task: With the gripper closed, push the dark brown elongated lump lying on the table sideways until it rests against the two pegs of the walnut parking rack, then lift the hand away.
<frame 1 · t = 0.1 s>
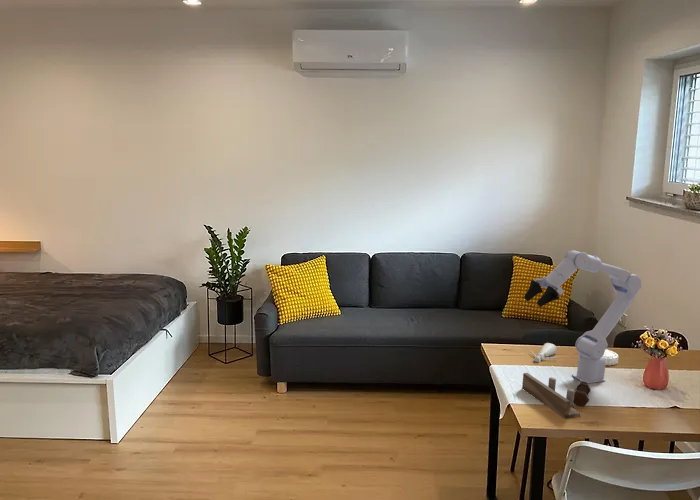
hand: (532, 302, 214), 32 cm above the table, tool tilted 50°, fingers open, 7 cm apart
peg rack: (551, 401, 207), on the table
dark brown elongated lump: (581, 398, 211), on the table
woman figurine: (543, 357, 250), on the table
mooncake: (602, 360, 249), on the table
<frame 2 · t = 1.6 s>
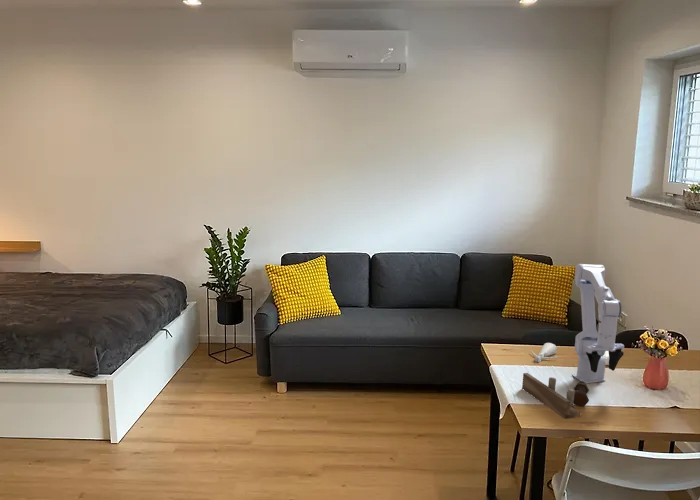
hand: (602, 370, 212), 10 cm above the table, tool pointing down, fingers open, 7 cm apart
nothing on the table moved.
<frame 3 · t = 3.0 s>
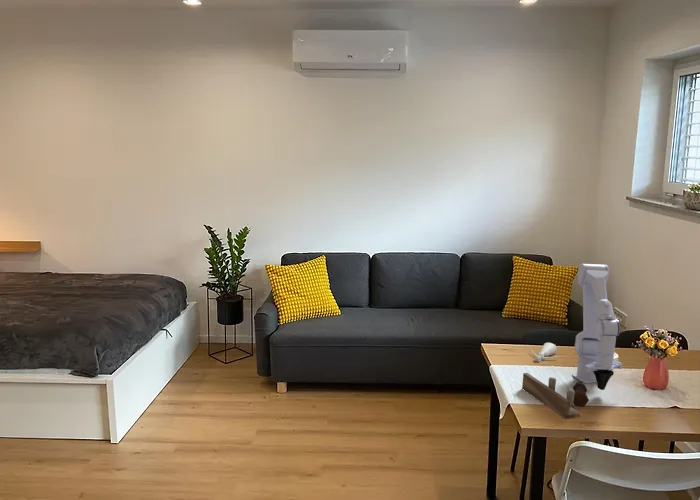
hand: (600, 388, 213), 3 cm above the table, tool pointing down, fingers closed
nothing on the table moved.
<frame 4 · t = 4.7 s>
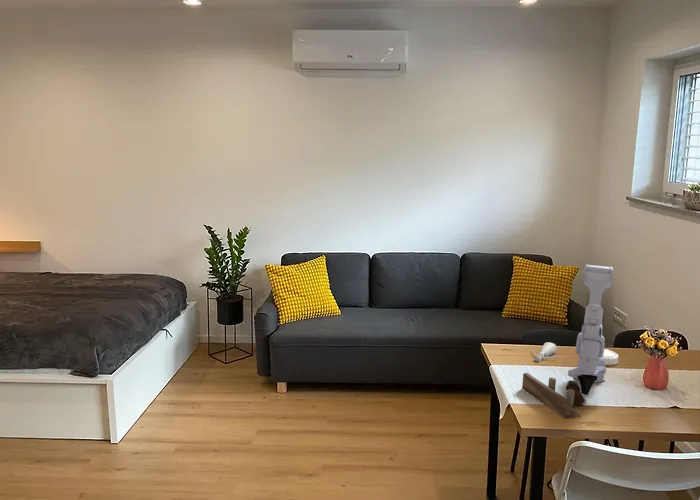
hand: (584, 393, 211), 1 cm above the table, tool pointing down, fingers closed
dark brown elongated lump: (573, 398, 212), on the table
everything else where it was.
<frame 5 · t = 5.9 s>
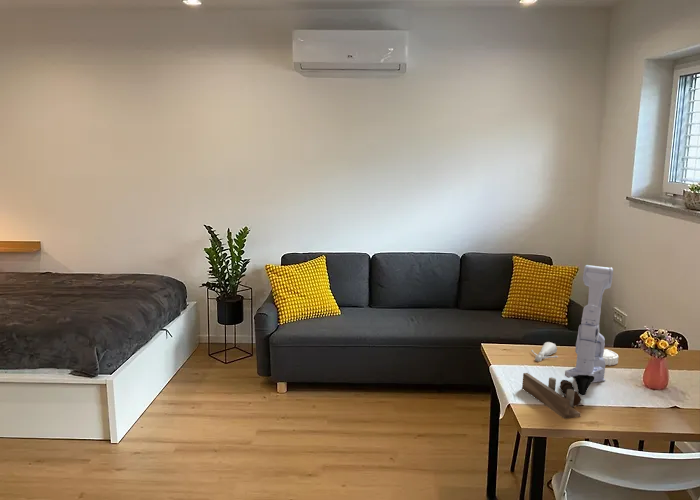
hand: (581, 394, 211), 1 cm above the table, tool pointing down, fingers closed
dark brown elongated lump: (568, 397, 212), on the table
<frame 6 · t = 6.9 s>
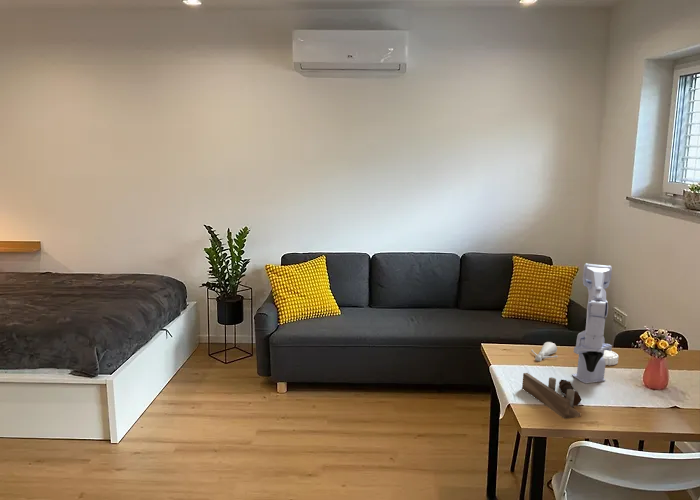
hand: (590, 370, 211), 9 cm above the table, tool pointing down, fingers closed
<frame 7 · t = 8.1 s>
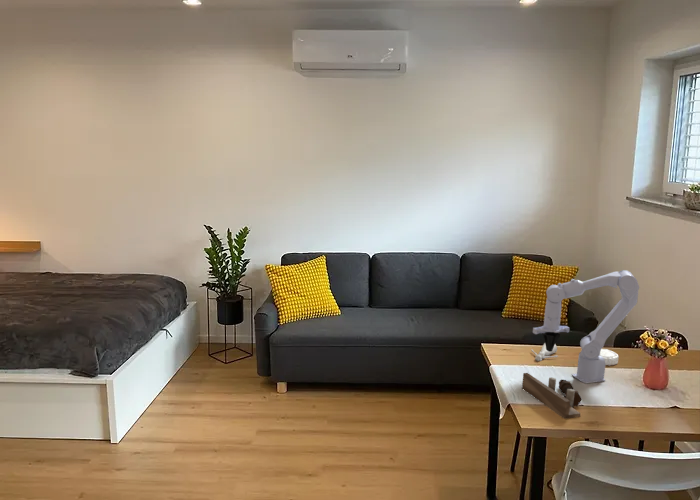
hand: (549, 350, 230), 9 cm above the table, tool pointing down, fingers closed
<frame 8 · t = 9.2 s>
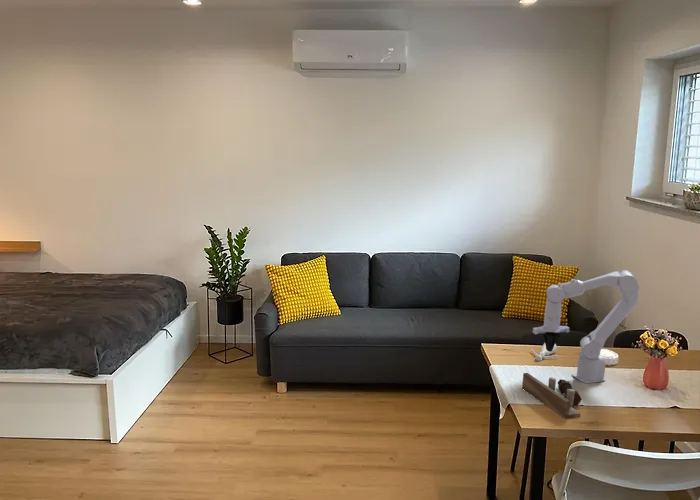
hand: (549, 350, 230), 9 cm above the table, tool pointing down, fingers closed
at the end: dark brown elongated lump inside the target area (2.9 cm from its centre), on the table; dark brown elongated lump moved 5.2 cm from its start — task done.
